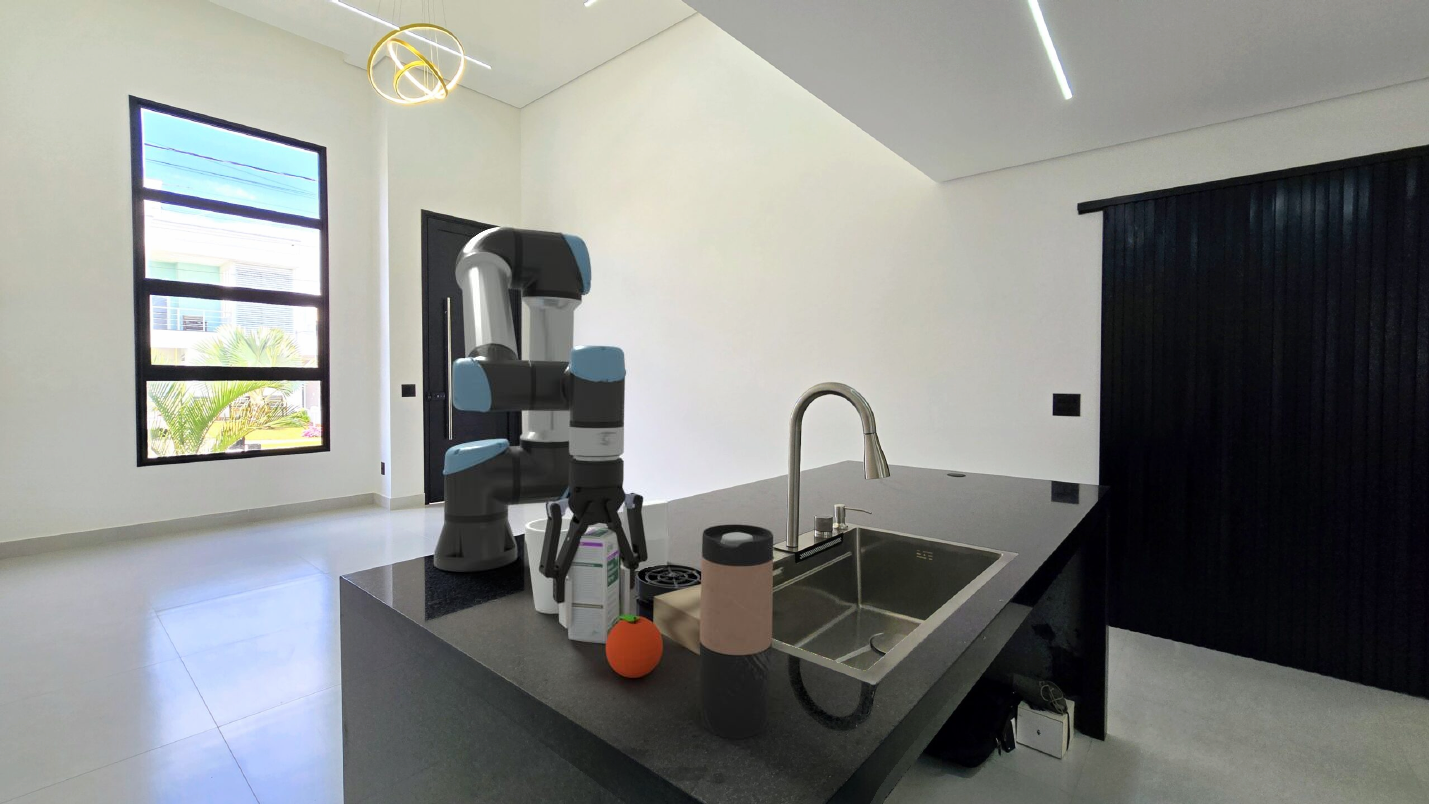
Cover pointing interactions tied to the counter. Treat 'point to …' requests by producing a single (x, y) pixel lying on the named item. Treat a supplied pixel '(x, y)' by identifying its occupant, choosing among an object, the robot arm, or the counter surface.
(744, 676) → the travel mug
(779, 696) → the counter surface
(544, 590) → the foam cup
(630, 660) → the clementine
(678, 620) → the oak block
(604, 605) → the syrup box
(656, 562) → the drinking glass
